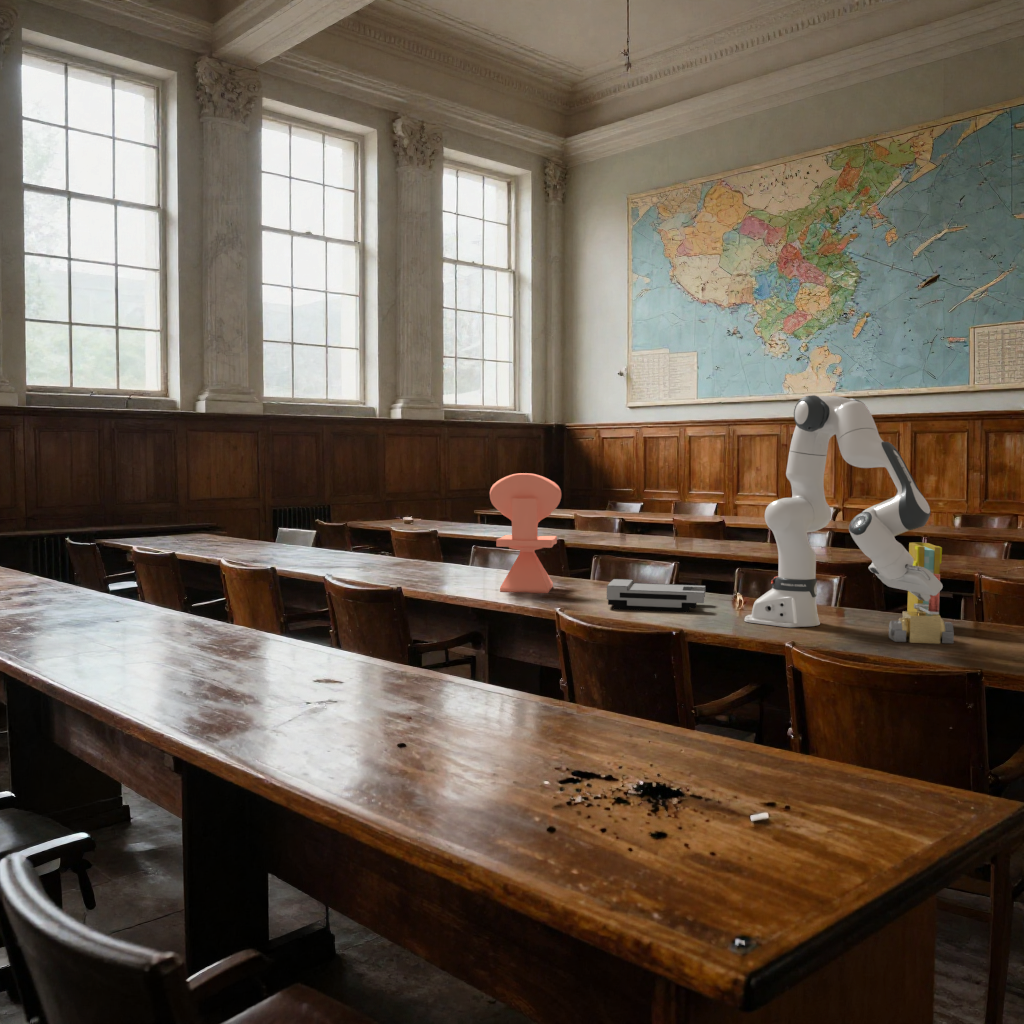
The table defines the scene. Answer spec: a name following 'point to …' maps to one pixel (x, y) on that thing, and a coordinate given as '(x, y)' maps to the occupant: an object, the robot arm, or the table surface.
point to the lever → (930, 603)
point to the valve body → (921, 628)
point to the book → (924, 565)
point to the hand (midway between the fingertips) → (925, 599)
